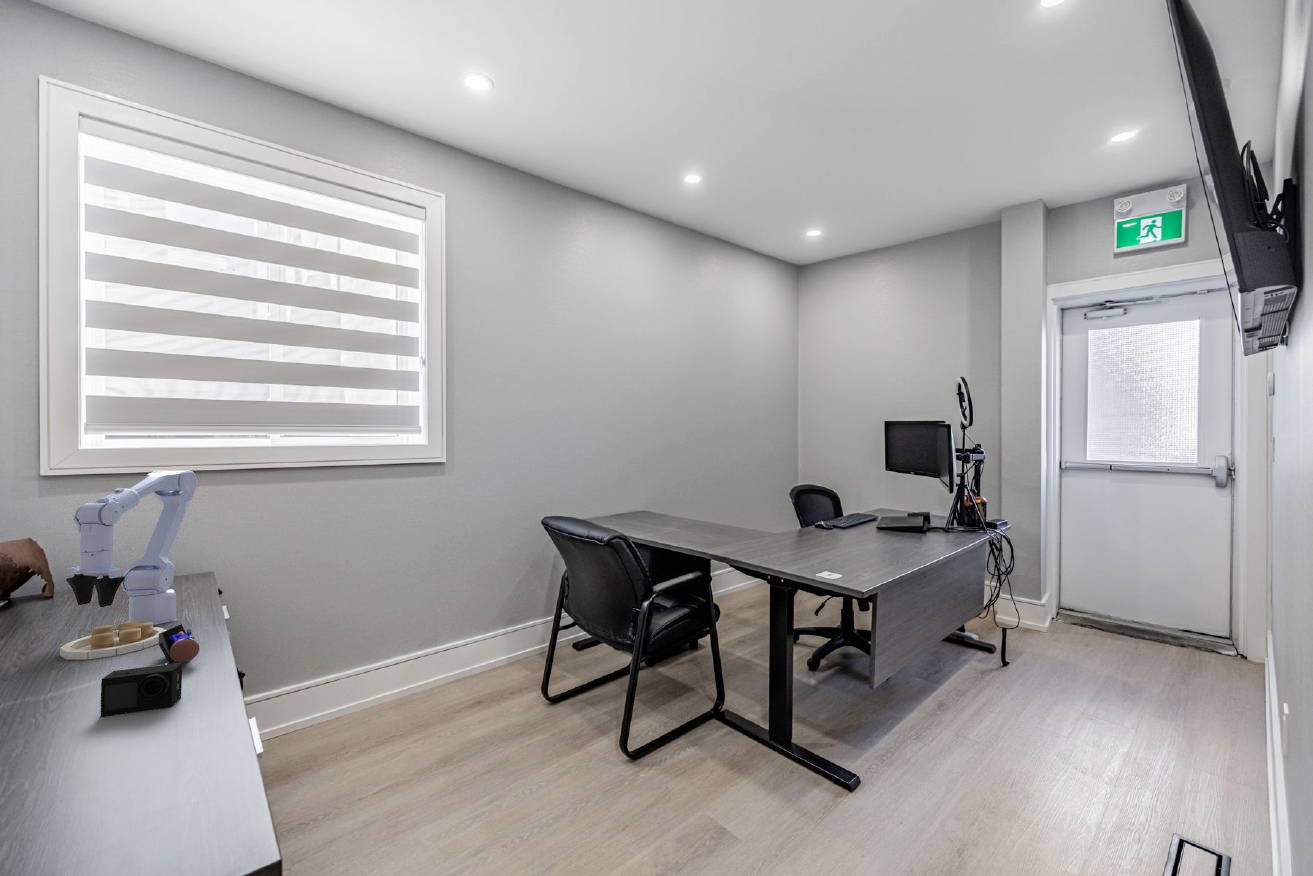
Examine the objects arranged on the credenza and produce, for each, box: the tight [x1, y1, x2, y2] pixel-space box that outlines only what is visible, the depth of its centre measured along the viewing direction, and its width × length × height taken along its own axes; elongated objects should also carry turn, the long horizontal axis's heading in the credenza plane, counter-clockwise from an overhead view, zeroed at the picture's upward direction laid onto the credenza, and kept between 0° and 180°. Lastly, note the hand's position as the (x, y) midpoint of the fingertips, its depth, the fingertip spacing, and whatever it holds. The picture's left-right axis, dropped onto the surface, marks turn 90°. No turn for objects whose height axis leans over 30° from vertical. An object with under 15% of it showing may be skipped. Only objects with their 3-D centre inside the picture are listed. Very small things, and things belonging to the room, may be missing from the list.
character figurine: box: [158, 623, 200, 664], centre depth 124 cm, size 8×7×15 cm
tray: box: [59, 626, 168, 660], centre depth 133 cm, size 18×18×2 cm
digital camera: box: [99, 662, 183, 718], centre depth 101 cm, size 10×5×7 cm, turn 112°
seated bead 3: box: [132, 622, 154, 641], centre depth 137 cm, size 4×4×4 cm
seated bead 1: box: [90, 633, 114, 650], centre depth 129 cm, size 4×4×4 cm
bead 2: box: [117, 620, 139, 637], centre depth 138 cm, size 4×4×4 cm
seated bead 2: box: [119, 628, 141, 646], centre depth 132 cm, size 4×4×4 cm
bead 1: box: [91, 624, 114, 636], centre depth 134 cm, size 4×4×4 cm
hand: (94, 605), depth 135 cm, fingers open, 7 cm apart
